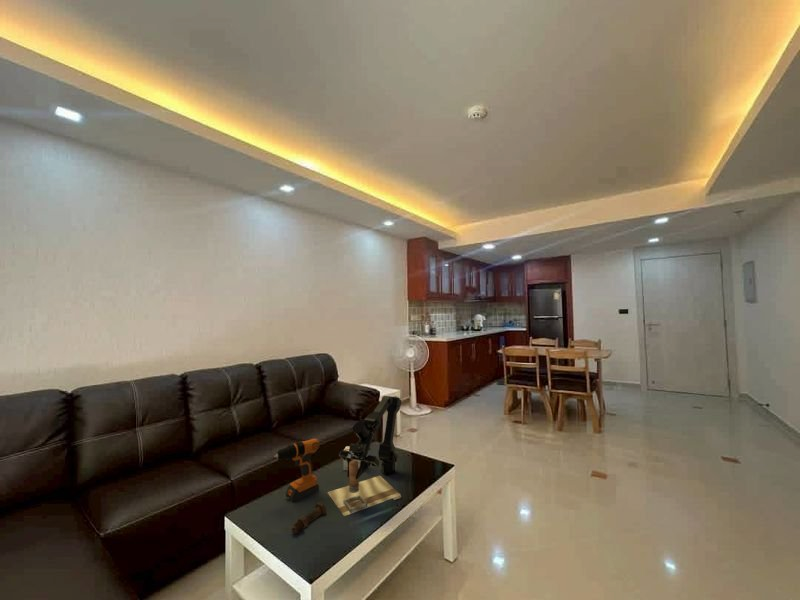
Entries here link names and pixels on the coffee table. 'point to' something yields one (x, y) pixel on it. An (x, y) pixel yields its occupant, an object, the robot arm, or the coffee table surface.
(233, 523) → the coffee table surface
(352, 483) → the brown piece
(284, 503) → the coffee table surface
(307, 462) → the power drill
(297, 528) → the bolt
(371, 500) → the subfloor panel
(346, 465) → the light bulb box
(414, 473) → the coffee table surface
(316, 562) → the coffee table surface
